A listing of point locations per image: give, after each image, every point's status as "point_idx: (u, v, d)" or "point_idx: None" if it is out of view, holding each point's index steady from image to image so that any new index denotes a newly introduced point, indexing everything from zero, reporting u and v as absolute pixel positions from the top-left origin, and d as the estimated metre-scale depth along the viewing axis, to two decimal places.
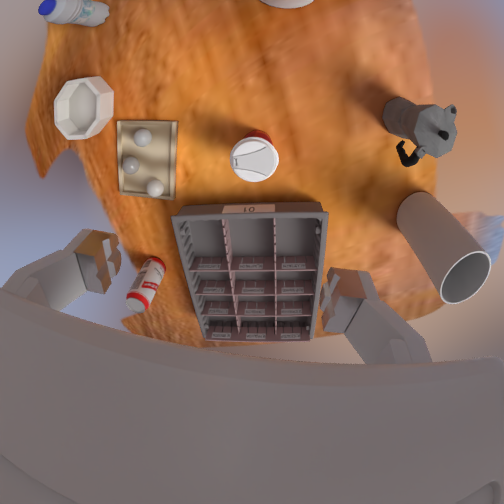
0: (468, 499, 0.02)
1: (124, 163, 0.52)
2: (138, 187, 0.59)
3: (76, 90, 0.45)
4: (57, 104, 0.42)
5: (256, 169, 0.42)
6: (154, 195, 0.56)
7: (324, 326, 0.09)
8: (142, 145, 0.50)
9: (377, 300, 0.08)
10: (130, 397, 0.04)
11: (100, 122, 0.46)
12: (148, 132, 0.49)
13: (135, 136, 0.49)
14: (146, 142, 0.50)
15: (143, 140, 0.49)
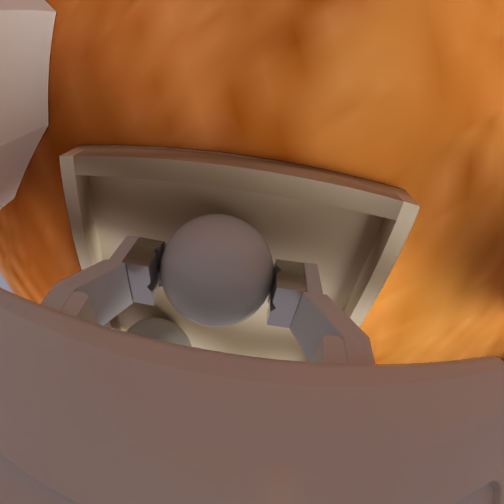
0: (468, 499, 0.02)
1: None
2: None
3: None
4: None
5: None
6: None
7: (267, 319, 0.09)
8: None
9: (320, 293, 0.08)
10: (130, 397, 0.04)
11: None
12: (263, 252, 0.09)
13: (178, 282, 0.08)
14: (252, 314, 0.09)
15: (240, 312, 0.08)
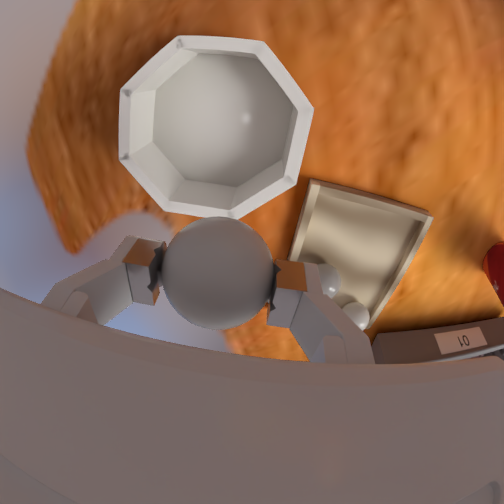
0: (467, 499, 0.02)
1: None
2: None
3: (183, 71, 0.19)
4: (131, 103, 0.17)
5: None
6: None
7: (267, 319, 0.09)
8: None
9: (320, 293, 0.08)
10: (130, 397, 0.04)
11: None
12: (264, 255, 0.09)
13: (179, 285, 0.08)
14: (253, 316, 0.09)
15: (241, 314, 0.08)
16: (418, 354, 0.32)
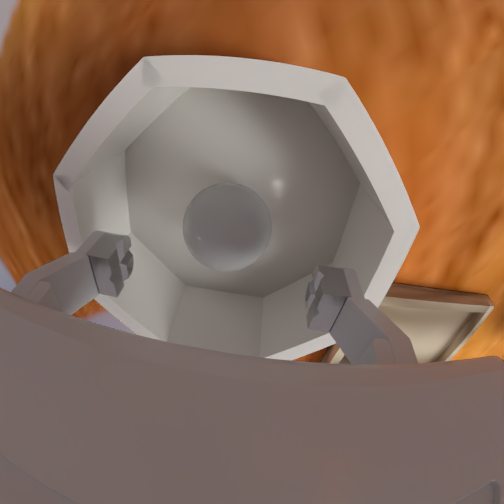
0: (468, 499, 0.02)
1: None
2: None
3: (168, 117, 0.11)
4: (76, 201, 0.09)
5: None
6: None
7: (308, 324, 0.09)
8: (231, 270, 0.12)
9: (362, 298, 0.08)
10: (130, 397, 0.04)
11: None
12: (263, 210, 0.11)
13: (196, 228, 0.11)
14: (253, 260, 0.12)
15: (243, 254, 0.11)
16: None
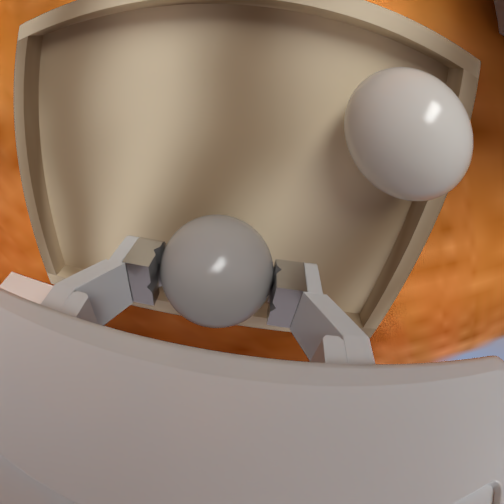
0: (468, 499, 0.02)
1: (181, 313, 0.09)
2: (370, 248, 0.11)
3: None
4: None
5: None
6: (469, 145, 0.05)
7: (267, 319, 0.09)
8: None
9: (320, 293, 0.08)
10: (130, 397, 0.04)
11: None
12: None
13: None
14: None
15: None
16: None
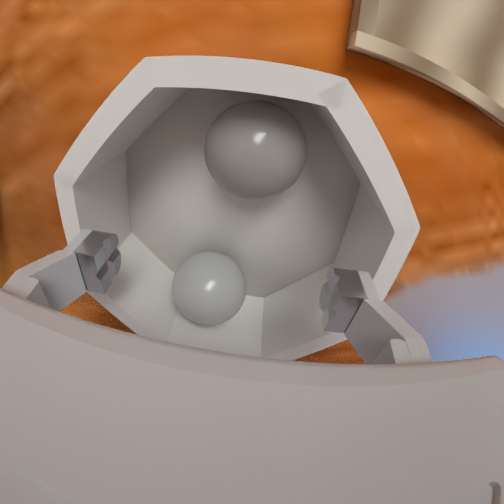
0: (468, 499, 0.02)
1: None
2: None
3: (158, 251, 0.16)
4: (181, 344, 0.14)
5: None
6: None
7: (324, 326, 0.09)
8: None
9: (377, 300, 0.08)
10: (130, 397, 0.04)
11: None
12: None
13: None
14: None
15: None
16: None
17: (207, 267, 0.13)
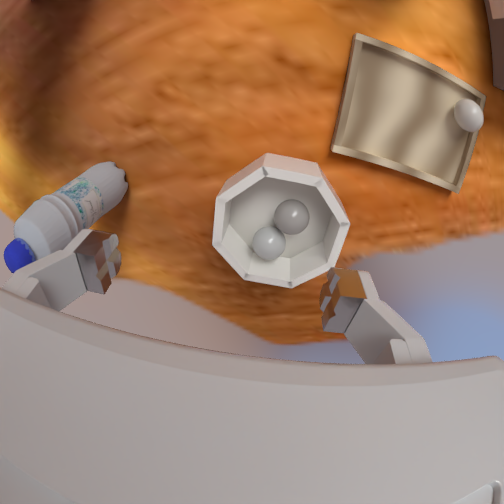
0: (468, 499, 0.02)
1: (290, 218, 0.29)
2: (456, 153, 0.25)
3: (241, 233, 0.35)
4: (255, 274, 0.32)
5: None
6: (482, 118, 0.19)
7: (324, 326, 0.09)
8: None
9: (377, 299, 0.08)
10: (130, 397, 0.04)
11: (326, 182, 0.26)
12: (254, 245, 0.32)
13: None
14: (266, 258, 0.32)
15: None
16: None
17: (271, 227, 0.32)
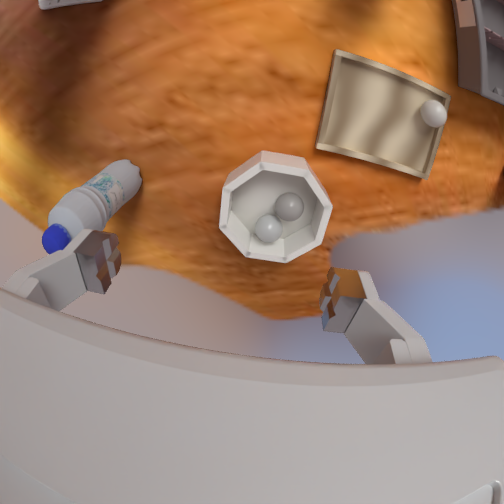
0: (468, 499, 0.02)
1: (293, 211, 0.35)
2: (424, 145, 0.32)
3: (241, 218, 0.41)
4: (255, 252, 0.39)
5: None
6: (445, 115, 0.26)
7: (324, 326, 0.09)
8: None
9: (377, 299, 0.08)
10: (130, 397, 0.04)
11: (312, 173, 0.33)
12: (258, 233, 0.38)
13: None
14: (269, 242, 0.39)
15: None
16: (475, 52, 0.18)
17: (270, 216, 0.38)
